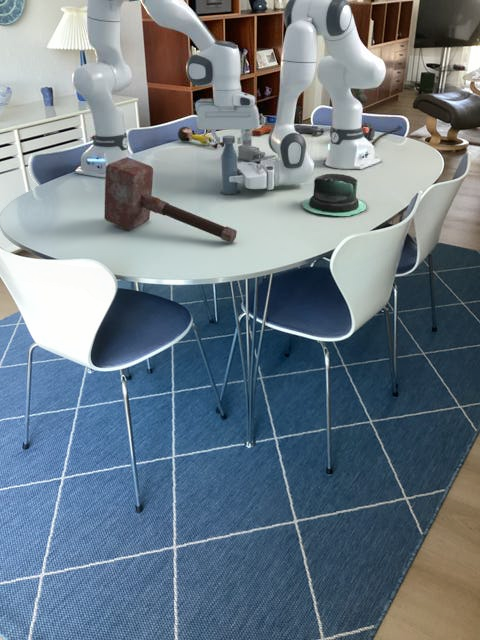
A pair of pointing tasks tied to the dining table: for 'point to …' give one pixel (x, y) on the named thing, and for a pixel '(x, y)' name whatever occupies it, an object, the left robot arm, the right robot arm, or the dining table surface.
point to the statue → (359, 95)
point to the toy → (369, 131)
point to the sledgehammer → (146, 200)
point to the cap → (228, 139)
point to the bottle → (229, 169)
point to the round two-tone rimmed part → (334, 196)
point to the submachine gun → (298, 128)
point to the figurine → (196, 137)
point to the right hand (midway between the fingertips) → (227, 176)
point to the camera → (250, 150)
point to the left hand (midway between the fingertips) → (228, 143)
